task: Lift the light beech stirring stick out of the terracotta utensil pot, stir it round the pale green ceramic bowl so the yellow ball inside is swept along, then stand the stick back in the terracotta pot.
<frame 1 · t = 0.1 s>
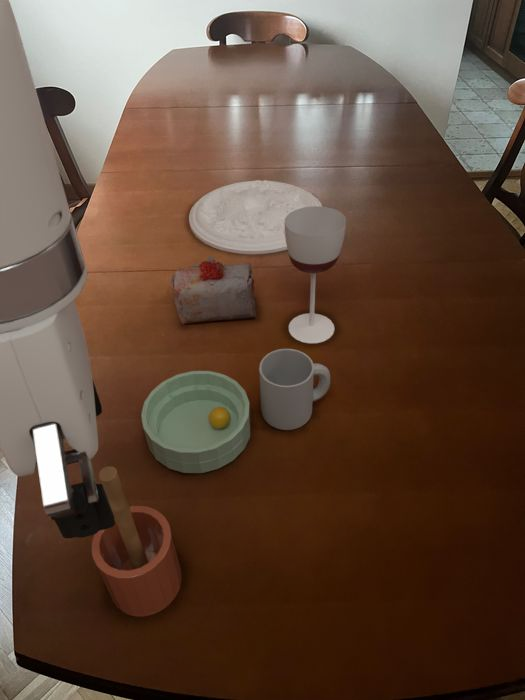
hand: (85, 468, 41), 30 cm above the table, tool pointing down, fingers open, 9 cm apart
food item: (216, 312, 101), on the table
utensil pot: (146, 580, 66), on the table
ball: (219, 417, 80), point 2 cm above the table, touching bowl
stirring stick: (145, 578, 66), resting on utensil pot
bowl: (199, 432, 81), on the table
cup: (295, 410, 84), on the table
wineglass: (311, 328, 97), on the table
ceiling medallion: (256, 217, 123), on the table
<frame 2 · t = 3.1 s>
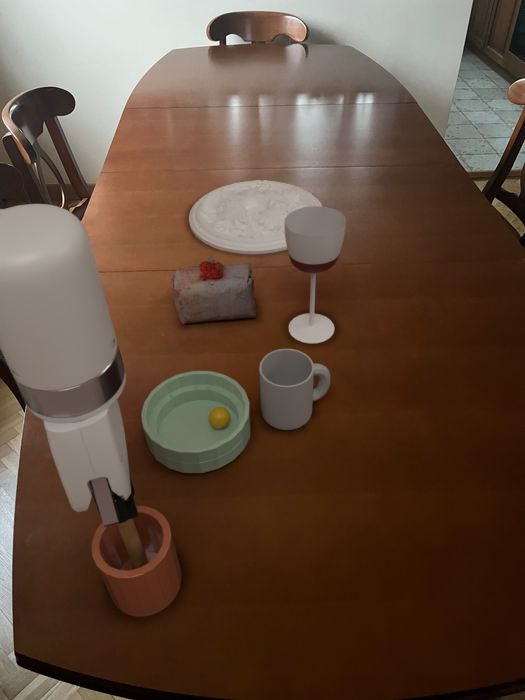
hand: (119, 507, 56), 15 cm above the table, tool pointing down, fingers closed on stirring stick, 1 cm apart
stirring stick: (145, 578, 66), point 1 cm above the table, touching gripper, utensil pot
everything else where it was.
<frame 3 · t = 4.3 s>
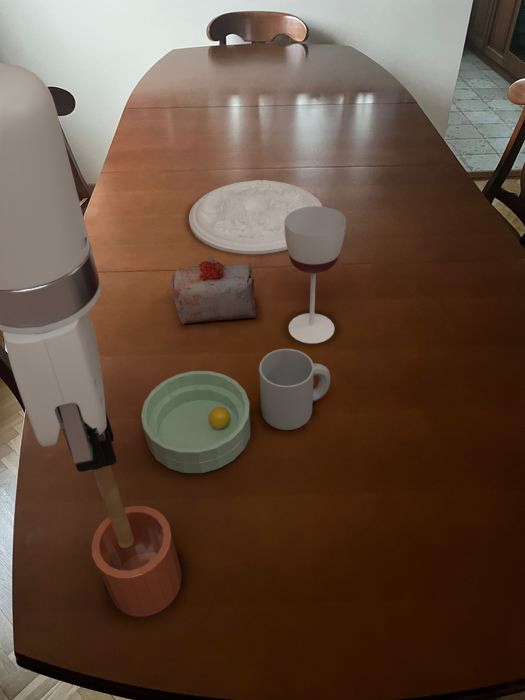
hand: (96, 453, 50), 23 cm above the table, tool pointing down, fingers closed on stirring stick
stirring stick: (126, 540, 60), point 9 cm above the table, touching gripper
everything else where it was.
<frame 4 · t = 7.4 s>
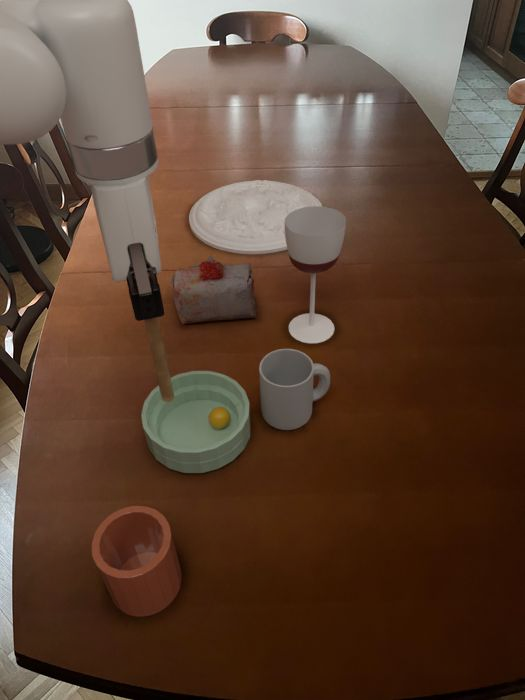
hand: (148, 309, 65), 23 cm above the table, tool pointing down, fingers closed on stirring stick
stirring stick: (168, 397, 75), point 8 cm above the table, touching gripper
everything else where it was.
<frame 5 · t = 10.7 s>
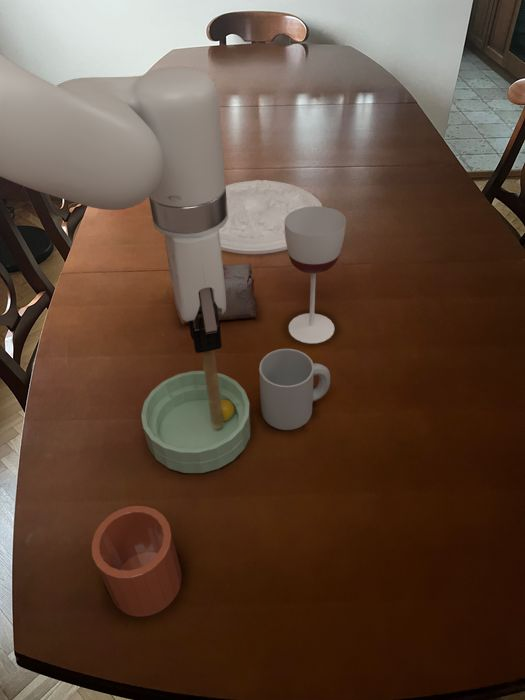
hand: (206, 342, 71), 16 cm above the table, tool pointing down, fingers closed on stirring stick, 1 cm apart
ball: (223, 410, 81), point 2 cm above the table, tilted 52°, touching bowl, stirring stick
stirring stick: (217, 424, 80), point 2 cm above the table, touching ball, gripper
everything else where it was.
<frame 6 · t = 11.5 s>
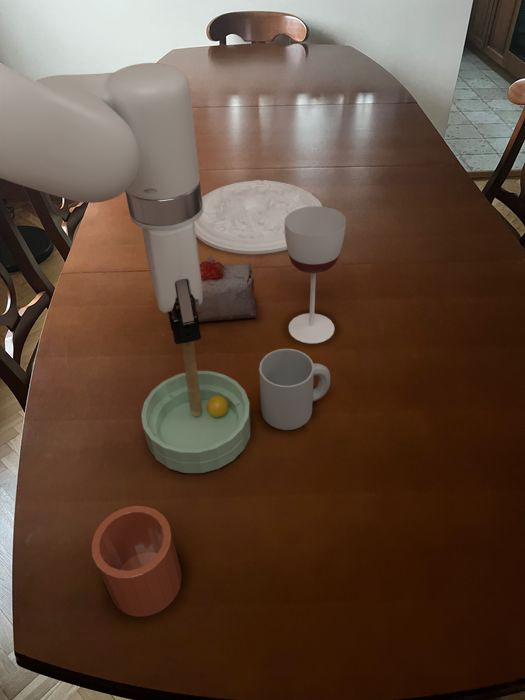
hand: (186, 333, 72), 16 cm above the table, tool pointing down, fingers closed on stirring stick, 1 cm apart
ball: (217, 406, 82), point 2 cm above the table, tilted 42°, touching bowl
stirring stick: (196, 411, 82), point 2 cm above the table, touching gripper
everything else where it was.
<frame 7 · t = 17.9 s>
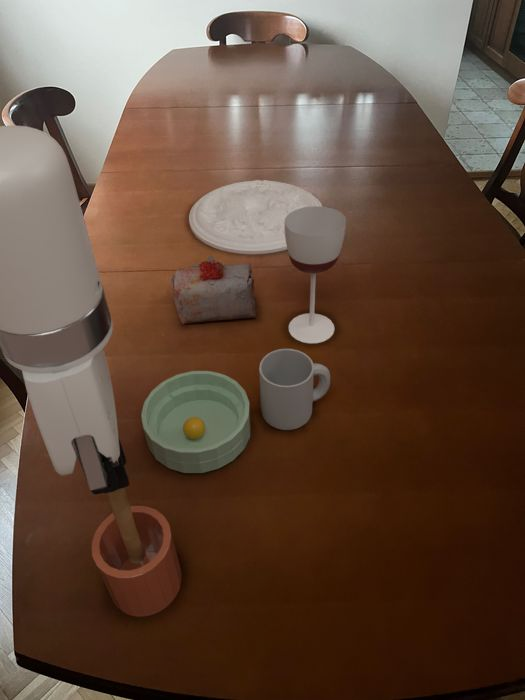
hand: (110, 476, 52), 20 cm above the table, tool pointing down, fingers closed on stirring stick
ball: (194, 428, 79), point 2 cm above the table, tilted 142°, touching bowl
stirring stick: (137, 556, 62), point 6 cm above the table, touching gripper
everything else where it was.
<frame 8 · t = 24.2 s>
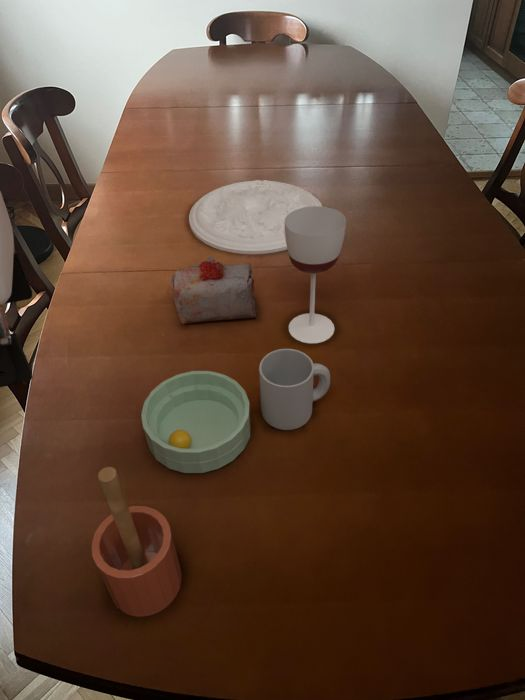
hand: (11, 338, 45), 34 cm above the table, tool pointing down, fingers open, 9 cm apart
ball: (180, 441, 78), point 2 cm above the table, tilted 111°, touching bowl
stirring stick: (144, 579, 66), resting on utensil pot
everything else where it was.
at the end: ball moved 6.3 cm from its start; ball inside the target area in the bowl (3.7 cm from its centre), point 2.1 cm above the bowl's base; stirring stick 0.1 cm off-centre in the utensil pot, point 0.5 cm above the utensil pot's base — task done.
